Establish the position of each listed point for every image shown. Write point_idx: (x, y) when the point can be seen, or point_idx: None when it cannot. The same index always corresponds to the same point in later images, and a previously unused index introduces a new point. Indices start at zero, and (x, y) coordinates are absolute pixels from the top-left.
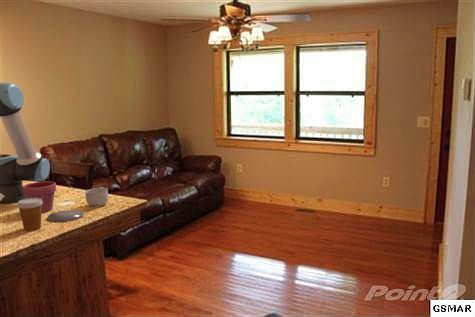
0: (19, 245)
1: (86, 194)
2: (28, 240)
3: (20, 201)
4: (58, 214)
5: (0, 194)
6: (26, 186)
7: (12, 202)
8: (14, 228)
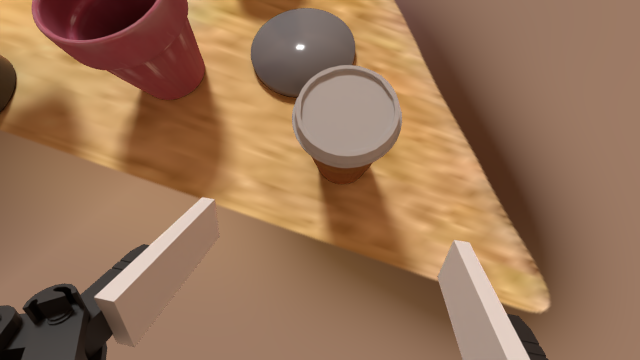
0: (489, 251)
1: None
2: (456, 212)
3: (312, 139)
4: (282, 61)
5: (479, 270)
6: (51, 30)
7: (3, 103)
8: (294, 198)
